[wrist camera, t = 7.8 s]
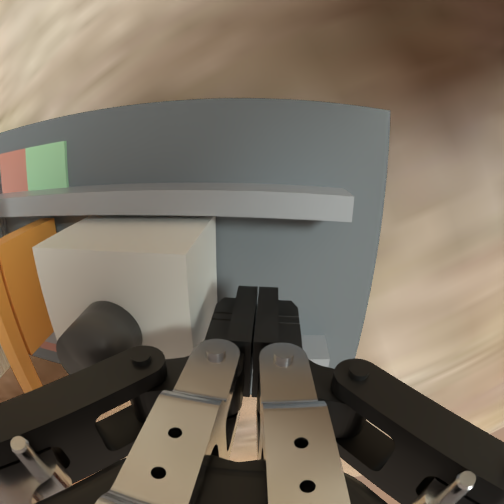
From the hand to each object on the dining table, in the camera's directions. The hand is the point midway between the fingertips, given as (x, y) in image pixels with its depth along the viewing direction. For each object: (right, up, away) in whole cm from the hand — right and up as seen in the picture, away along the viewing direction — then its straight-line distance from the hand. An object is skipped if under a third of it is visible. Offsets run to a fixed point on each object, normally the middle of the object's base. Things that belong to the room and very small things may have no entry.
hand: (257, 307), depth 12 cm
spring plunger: (-5, +1, +3) cm, 6 cm away
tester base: (-6, +2, +4) cm, 8 cm away
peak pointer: (-11, +1, +3) cm, 11 cm away
